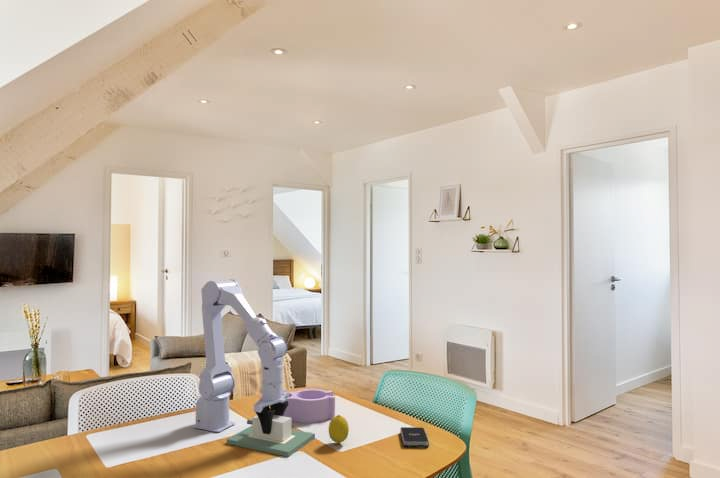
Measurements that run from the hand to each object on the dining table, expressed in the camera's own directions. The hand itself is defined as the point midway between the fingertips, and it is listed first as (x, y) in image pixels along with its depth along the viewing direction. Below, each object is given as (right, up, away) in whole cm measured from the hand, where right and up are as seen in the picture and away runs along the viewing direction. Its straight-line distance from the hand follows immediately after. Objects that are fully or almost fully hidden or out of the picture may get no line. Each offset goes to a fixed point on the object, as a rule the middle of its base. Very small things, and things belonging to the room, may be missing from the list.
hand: (271, 430), depth 138 cm
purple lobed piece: (+6, -4, +21) cm, 22 cm away
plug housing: (-1, -1, +1) cm, 2 cm away
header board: (0, -3, 0) cm, 3 cm away
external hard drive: (+40, -4, +2) cm, 40 cm away
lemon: (+19, -3, -2) cm, 19 cm away
